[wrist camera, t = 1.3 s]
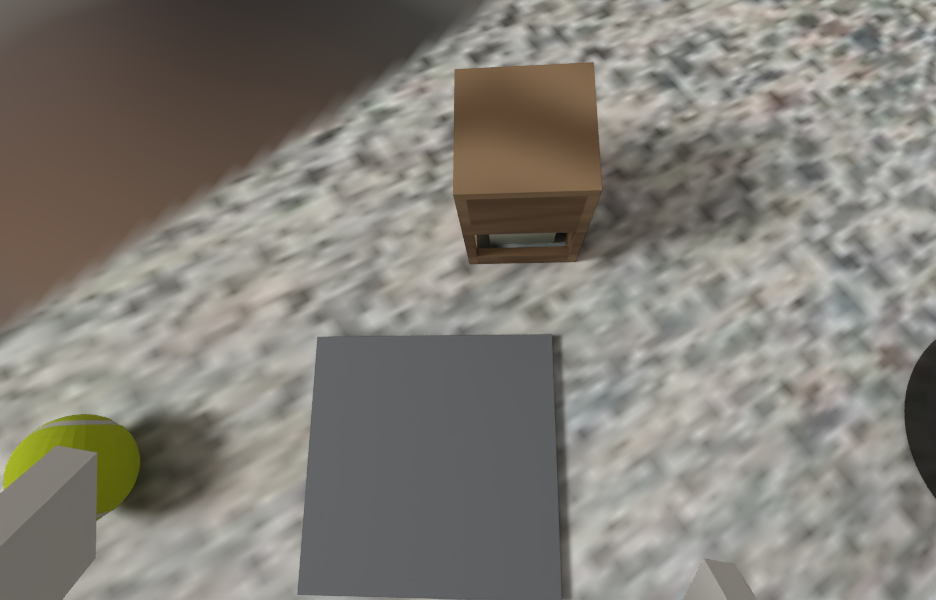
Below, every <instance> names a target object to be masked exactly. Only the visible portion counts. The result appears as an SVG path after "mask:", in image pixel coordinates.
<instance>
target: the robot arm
mask: <svg viewBox="0 0 936 600" xmlns="http://www.w3.org/2000/svg"><path fill="white" fill-rule="evenodd" d="M904 412H905V427H906V433H907V439H908V443H909V446H910V450H911V453H912V456H913V459H914V461H915V463H916V466H917V468H918V470H919V472H920V474H921V476H922V478H923V480H924V482H925V483H926V485H927V487H928V488H929V490H930V491H931V493H932V494H933V496H934V497H935V498H936V340H935V341H934V342H933V343H932V344H931V345H930V346H929V347H928V348H927V349H926V350H925V351H924V353H923V354H922V355H921V357H920V359H919V360H918V362H917V364H916V365H915V367H914V369H913V372H912V374H911V377H910V380H909V383H908V387H907V391H906V397H905V410H904ZM96 503H97V452H91V451H85V450H80V449H74V448H68V447H62V446H55V447H54V448H53V449H52V450H51V451H49V452H48V453H47V454H46V455H45V456H44V457H42V458H41V459H40V460H39V461H38V462H37V463H35V464H34V465H33V466H32V467H31V468H29V469H28V470H27V471H26V472H25V473H24V474H22V475H21V476H20V477H19V478H18V479H16V480H15V481H14V482H13V483H12V484H11V485H9V486H8V487H7V488H6V489H5V490H4V491H2V492H1V493H0V600H62V599H63V598H64V597H65V595H66V594H67V593H68V592H69V590H70V589H71V588H72V587H73V585H74V584H75V583H76V582H77V580H78V579H79V578H80V577H81V575H82V574H83V573H84V572H85V570H86V569H87V568H88V567H89V565H90V564H91V563H92V562H93V560H94V559H95V558H96ZM683 600H757V599H756V597H755V595H754V594H753V592H752V591H751V589H750V587H749V586H748V584H747V583H746V581H745V579H744V578H743V576H742V575H741V573H740V572H739V570H738V568H737V567H736V565H735V564H732V563H726V562H720V561H715V560H709V559H703V561H702V563H701V565H700V567H699V569H698V571H697V573H696V575H695V577H694V579H693V581H692V583H691V585H690V587H689V589H688V591H687V593H686V595H685V597H684V599H683Z"/></svg>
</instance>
